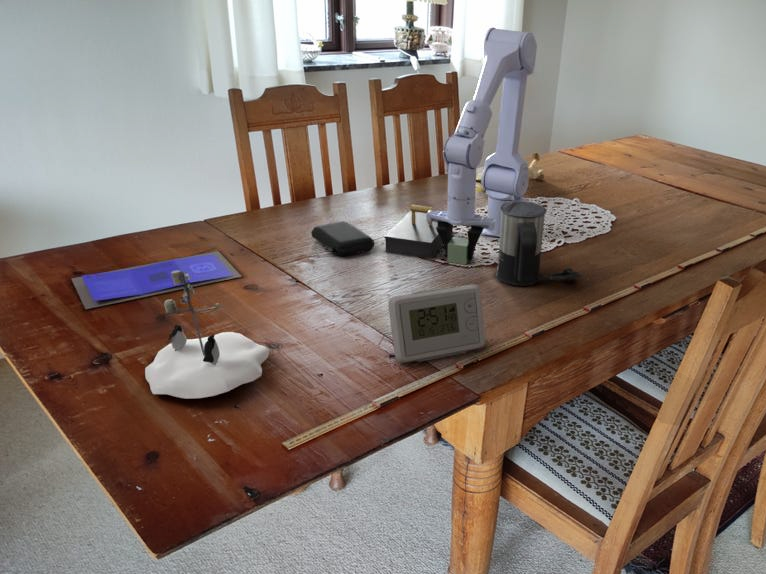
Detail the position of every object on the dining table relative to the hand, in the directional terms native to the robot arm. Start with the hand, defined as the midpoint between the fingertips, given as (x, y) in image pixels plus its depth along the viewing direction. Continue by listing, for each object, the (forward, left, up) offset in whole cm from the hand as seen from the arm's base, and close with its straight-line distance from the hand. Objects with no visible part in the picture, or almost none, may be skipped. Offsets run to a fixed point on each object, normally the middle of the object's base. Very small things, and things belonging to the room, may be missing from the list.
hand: (459, 256), depth 149 cm
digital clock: (-7, +38, -1) cm, 39 cm away
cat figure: (+1, -55, -1) cm, 55 cm away
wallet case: (+11, -6, -1) cm, 13 cm away
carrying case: (+27, +1, -1) cm, 27 cm away
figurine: (+25, +55, -1) cm, 61 cm away
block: (0, 0, -1) cm, 1 cm away
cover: (+11, -6, +3) cm, 13 cm away
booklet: (+53, +29, -1) cm, 61 cm away
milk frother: (-18, +4, -1) cm, 19 cm away
